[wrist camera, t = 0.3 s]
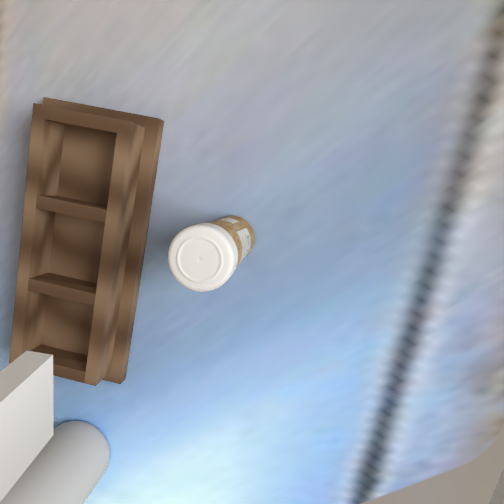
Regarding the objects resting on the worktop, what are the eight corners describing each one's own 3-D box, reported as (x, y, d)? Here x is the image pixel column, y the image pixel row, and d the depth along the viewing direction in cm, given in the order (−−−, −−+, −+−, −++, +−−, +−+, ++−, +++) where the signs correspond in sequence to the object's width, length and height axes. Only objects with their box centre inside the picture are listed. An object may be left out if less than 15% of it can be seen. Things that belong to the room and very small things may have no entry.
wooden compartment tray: (51, 100, 37) (21, 88, 33) (164, 121, 36) (147, 111, 32) (26, 353, 42) (-4, 370, 38) (125, 378, 41) (106, 398, 37)
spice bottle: (225, 207, 37) (185, 211, 24) (264, 230, 37) (246, 247, 24) (203, 245, 38) (153, 270, 24) (241, 268, 38) (212, 306, 24)
